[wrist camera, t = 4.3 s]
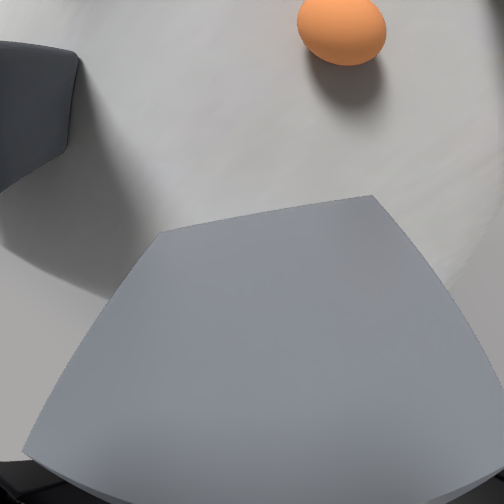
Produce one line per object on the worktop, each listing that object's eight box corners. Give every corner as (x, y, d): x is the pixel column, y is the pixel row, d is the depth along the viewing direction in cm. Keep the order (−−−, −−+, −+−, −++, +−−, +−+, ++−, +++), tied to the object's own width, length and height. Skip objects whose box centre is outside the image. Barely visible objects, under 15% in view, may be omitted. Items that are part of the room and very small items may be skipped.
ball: (367, 8, 12) (394, -15, 8) (372, 73, 15) (403, 66, 10) (292, 1, 13) (296, -29, 8) (296, 68, 15) (304, 55, 11)
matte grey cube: (372, 195, 9) (527, 451, 1) (370, 348, 13) (402, 521, 5) (160, 232, 10) (21, 451, 3) (218, 365, 14) (185, 528, 6)
